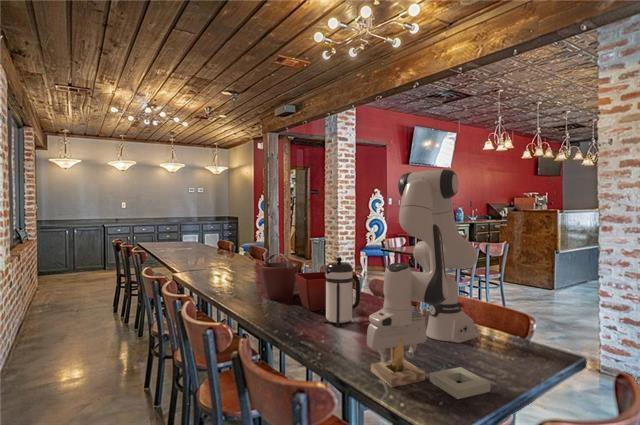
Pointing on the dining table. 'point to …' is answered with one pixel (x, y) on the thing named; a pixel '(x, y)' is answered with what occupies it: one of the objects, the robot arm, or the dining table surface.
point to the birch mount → (399, 378)
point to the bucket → (278, 278)
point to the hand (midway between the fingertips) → (397, 359)
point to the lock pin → (397, 357)
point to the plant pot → (312, 290)
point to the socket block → (459, 390)
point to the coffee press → (340, 292)
